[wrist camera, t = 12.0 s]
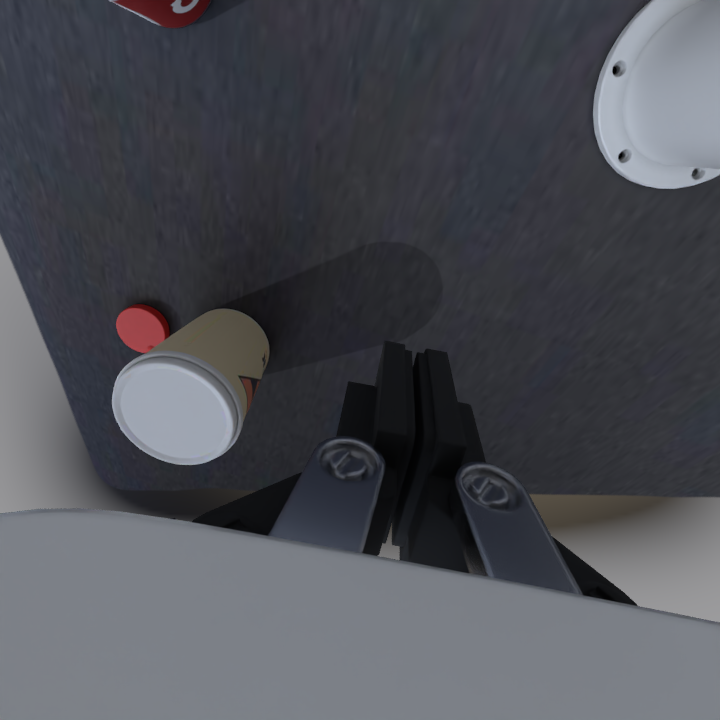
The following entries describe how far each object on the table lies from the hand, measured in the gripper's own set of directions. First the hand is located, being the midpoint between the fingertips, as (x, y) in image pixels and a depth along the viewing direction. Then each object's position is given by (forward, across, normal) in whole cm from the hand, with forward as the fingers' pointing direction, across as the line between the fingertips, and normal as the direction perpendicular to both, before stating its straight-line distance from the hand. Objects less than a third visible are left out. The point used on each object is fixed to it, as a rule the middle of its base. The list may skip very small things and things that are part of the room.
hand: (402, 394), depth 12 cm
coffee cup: (+26, +14, +14) cm, 33 cm away
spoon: (+26, +19, +19) cm, 37 cm away
